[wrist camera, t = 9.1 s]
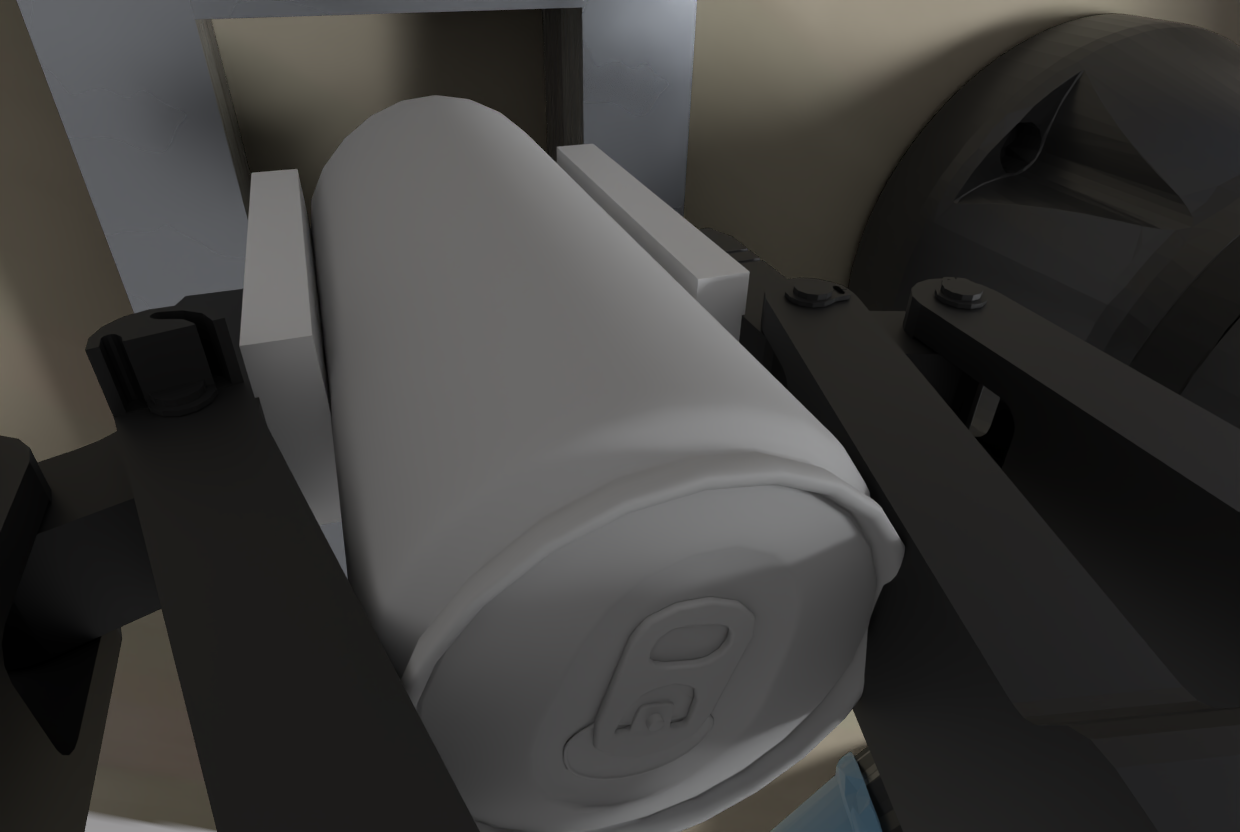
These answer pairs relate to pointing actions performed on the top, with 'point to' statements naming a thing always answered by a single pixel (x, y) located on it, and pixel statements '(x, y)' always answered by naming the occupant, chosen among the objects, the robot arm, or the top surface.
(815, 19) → the top surface
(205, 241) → the marble inkwell stand
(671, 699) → the beverage can
